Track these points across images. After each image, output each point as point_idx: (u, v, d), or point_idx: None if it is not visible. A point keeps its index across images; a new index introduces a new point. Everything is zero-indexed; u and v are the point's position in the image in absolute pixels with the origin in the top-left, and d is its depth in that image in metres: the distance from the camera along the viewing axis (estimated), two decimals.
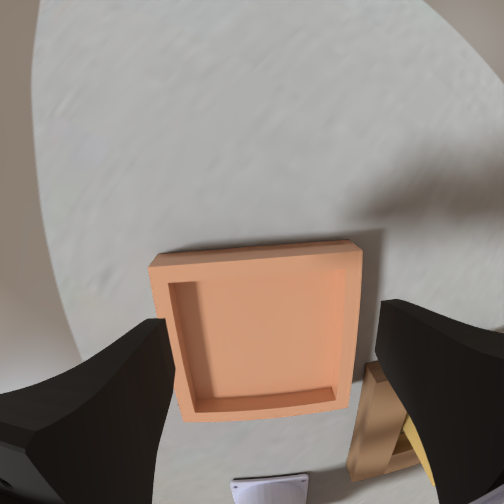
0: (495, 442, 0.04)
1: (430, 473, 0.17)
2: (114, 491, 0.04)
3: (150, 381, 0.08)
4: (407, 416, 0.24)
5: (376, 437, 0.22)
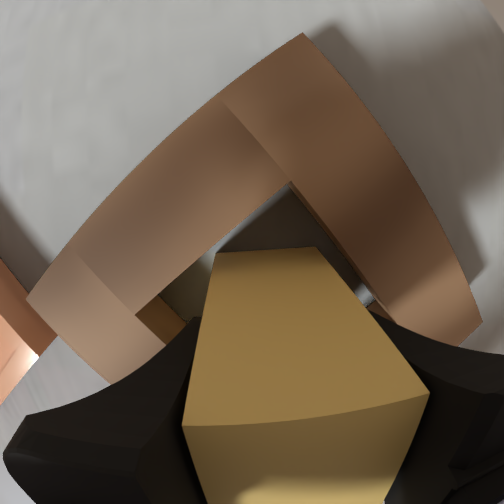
0: (438, 468, 0.04)
1: None
2: (190, 499, 0.04)
3: None
4: None
5: None
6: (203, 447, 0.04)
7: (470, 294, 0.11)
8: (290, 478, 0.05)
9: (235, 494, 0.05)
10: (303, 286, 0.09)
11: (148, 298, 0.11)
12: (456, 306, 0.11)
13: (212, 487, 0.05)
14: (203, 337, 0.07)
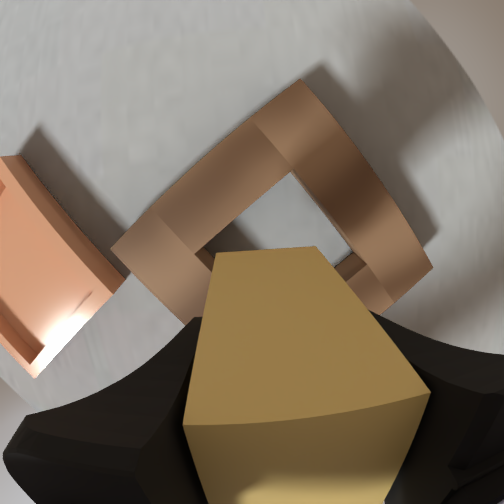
0: (438, 468, 0.04)
1: None
2: (190, 499, 0.04)
3: None
4: None
5: None
6: (204, 447, 0.04)
7: (419, 245, 0.18)
8: (290, 477, 0.05)
9: (235, 493, 0.05)
10: (304, 286, 0.09)
11: (204, 242, 0.17)
12: (408, 253, 0.18)
13: (213, 487, 0.05)
14: (204, 336, 0.07)
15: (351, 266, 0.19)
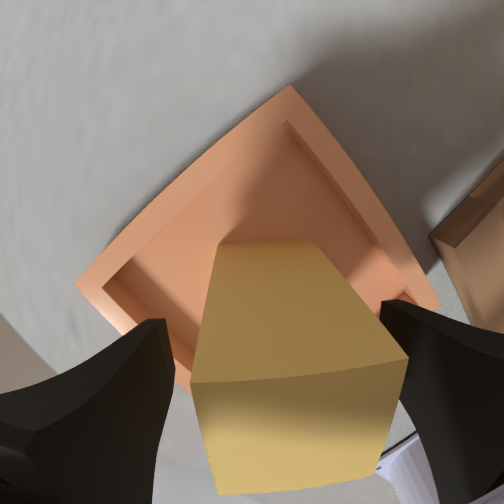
0: (495, 442, 0.04)
1: None
2: (114, 491, 0.04)
3: (150, 381, 0.08)
4: None
5: (501, 318, 0.14)
6: (207, 405, 0.05)
7: None
8: (286, 439, 0.06)
9: (235, 456, 0.06)
10: (298, 272, 0.10)
11: None
12: None
13: (215, 449, 0.06)
14: (207, 313, 0.08)
15: None
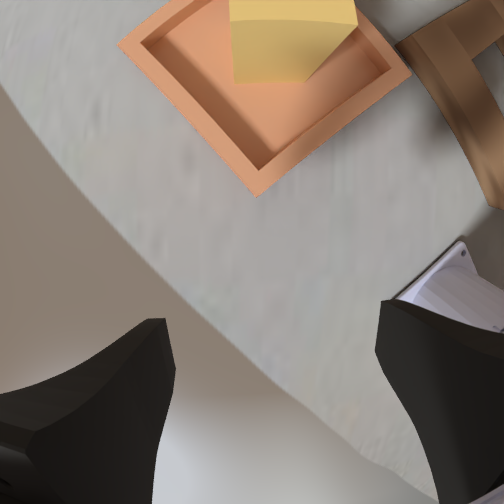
0: (495, 442, 0.04)
1: None
2: (114, 491, 0.04)
3: (150, 381, 0.08)
4: None
5: (478, 114, 0.16)
6: None
7: None
8: None
9: None
10: None
11: (476, 54, 0.14)
12: None
13: None
14: None
15: None
